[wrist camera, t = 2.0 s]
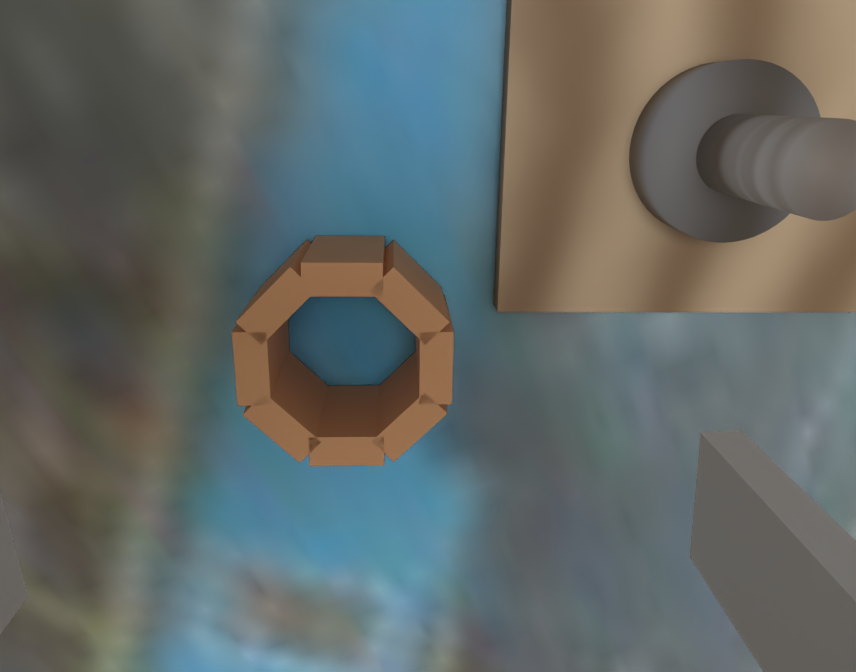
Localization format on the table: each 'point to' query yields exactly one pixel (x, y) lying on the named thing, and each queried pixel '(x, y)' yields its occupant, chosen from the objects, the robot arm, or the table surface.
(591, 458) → the table surface
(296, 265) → the ring
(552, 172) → the post board
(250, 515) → the table surface
